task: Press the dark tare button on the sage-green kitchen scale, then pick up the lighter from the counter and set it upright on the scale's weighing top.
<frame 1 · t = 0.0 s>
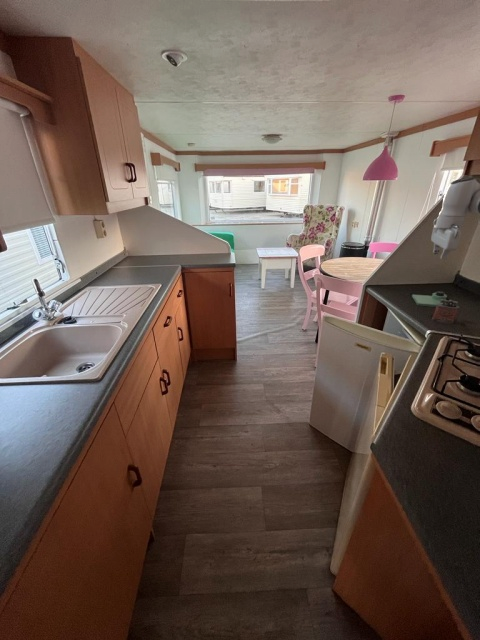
hand: (438, 256, 115), 26 cm above the counter, tool pointing down, fingers open, 8 cm apart
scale: (430, 302, 136), on the counter
tare button: (440, 293, 136), point 3 cm above the counter, slide at 0.1 cm
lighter: (442, 321, 118), on the counter
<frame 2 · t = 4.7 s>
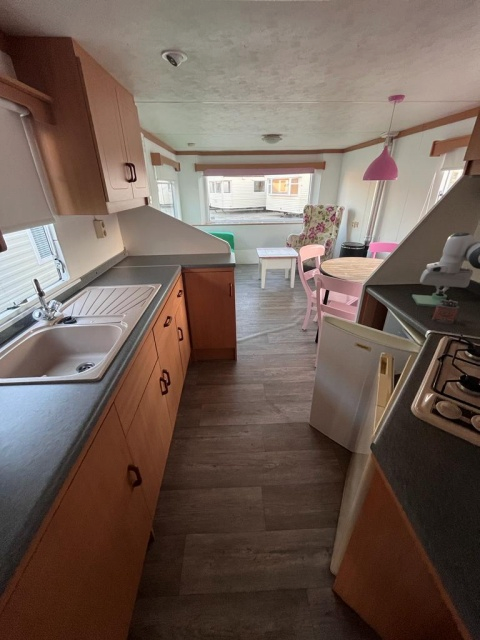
hand: (439, 293, 136), 4 cm above the counter, tool pointing down, fingers closed, pressing on tare button
tare button: (439, 295, 136), point 3 cm above the counter, slide at -0.7 cm, touching gripper
everything else where it was.
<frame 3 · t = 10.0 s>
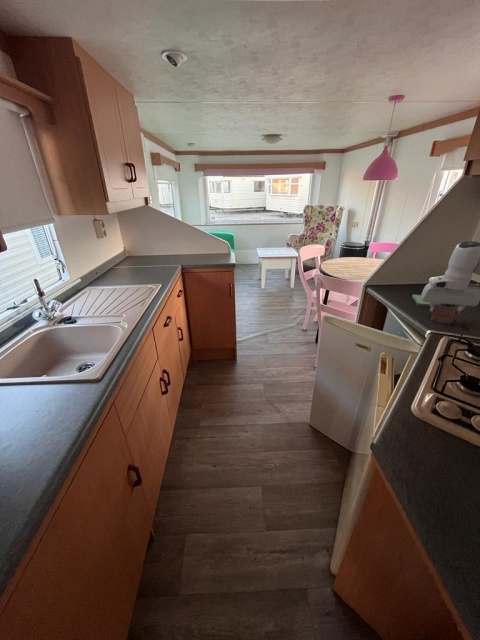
hand: (443, 312, 116), 4 cm above the counter, tool pointing down, fingers closed on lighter, 7 cm apart
tare button: (440, 293, 136), point 3 cm above the counter, slide at 0.1 cm
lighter: (441, 321, 118), on the counter, touching gripper
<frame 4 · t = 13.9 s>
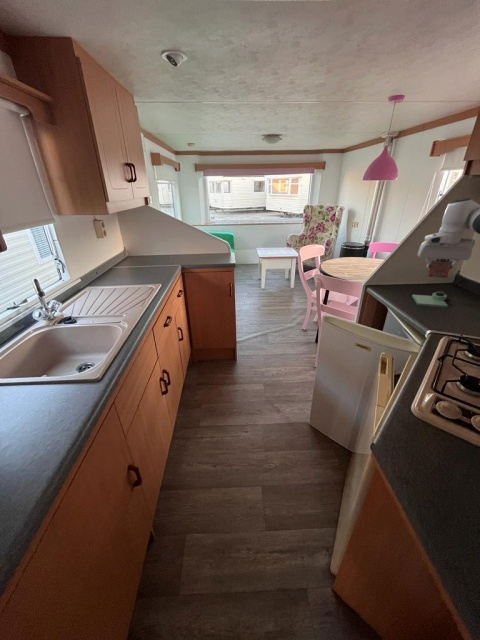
hand: (439, 268, 125), 19 cm above the counter, tool pointing down, fingers closed on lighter, 7 cm apart
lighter: (437, 276, 127), point 14 cm above the counter, touching gripper
everything else where it was.
when the fingers open (5 cm above the counter, at t = 17.8 s): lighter stays where it is, point 1 cm above the counter.
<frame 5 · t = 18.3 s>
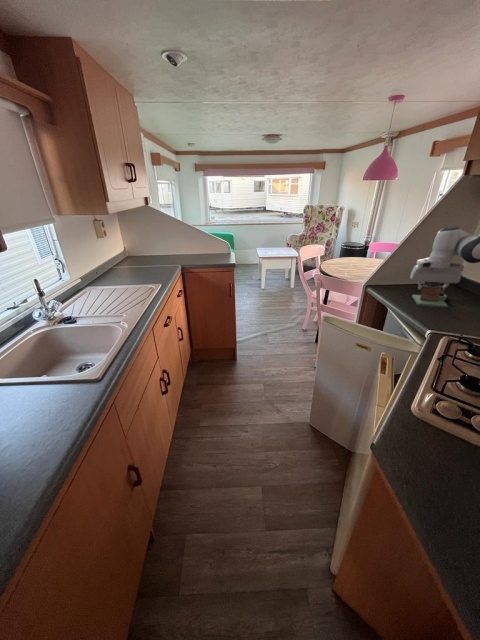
hand: (430, 290, 132), 7 cm above the counter, tool pointing down, fingers open, 8 cm apart
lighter: (429, 300, 135), point 1 cm above the counter, touching gripper
everything else where it was.
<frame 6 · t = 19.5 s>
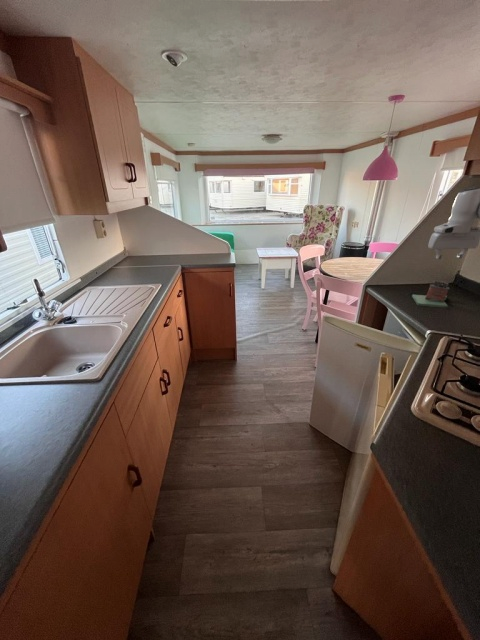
hand: (448, 258, 125), 23 cm above the counter, tool pointing down, fingers open, 8 cm apart
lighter: (433, 300, 134), point 1 cm above the counter, touching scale
everything else where it was.
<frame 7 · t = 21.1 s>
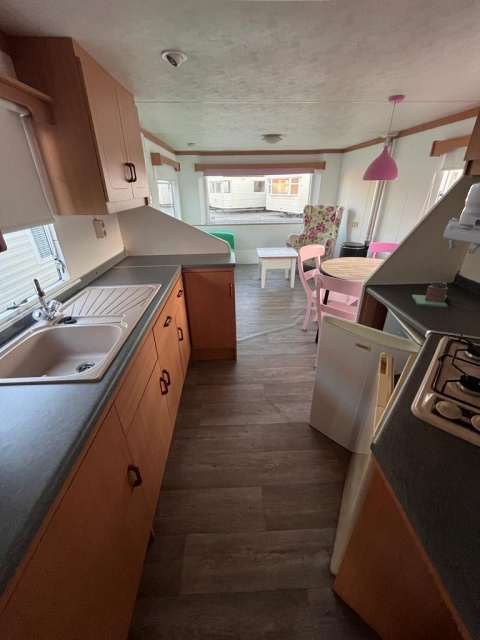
hand: (461, 251, 124), 26 cm above the counter, tool pointing down, fingers open, 8 cm apart
nothing on the counter moved.
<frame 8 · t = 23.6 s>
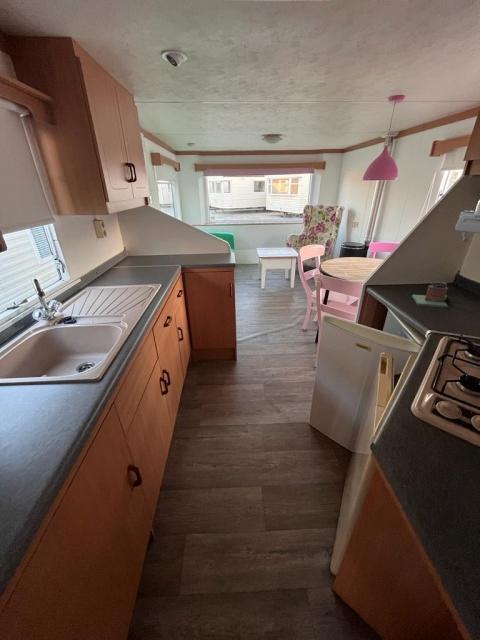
hand: (476, 243, 123), 29 cm above the counter, tool pointing down, fingers open, 8 cm apart
nothing on the counter moved.
at the end: tare button pushed in 1.1 cm at the most during the clip, back to where it started at the end; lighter inside the target area on the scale (1.5 cm from its centre), point 1.0 cm above the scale's base; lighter touching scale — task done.
